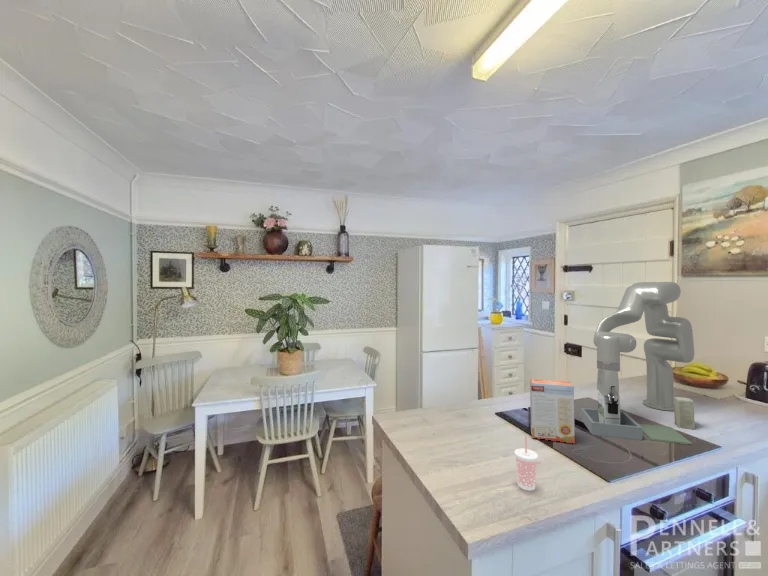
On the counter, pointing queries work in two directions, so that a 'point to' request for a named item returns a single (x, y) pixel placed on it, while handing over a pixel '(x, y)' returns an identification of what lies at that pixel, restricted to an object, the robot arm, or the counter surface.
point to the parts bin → (611, 425)
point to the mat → (663, 434)
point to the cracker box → (552, 410)
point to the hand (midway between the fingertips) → (608, 409)
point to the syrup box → (603, 410)
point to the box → (684, 412)
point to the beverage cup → (526, 467)
